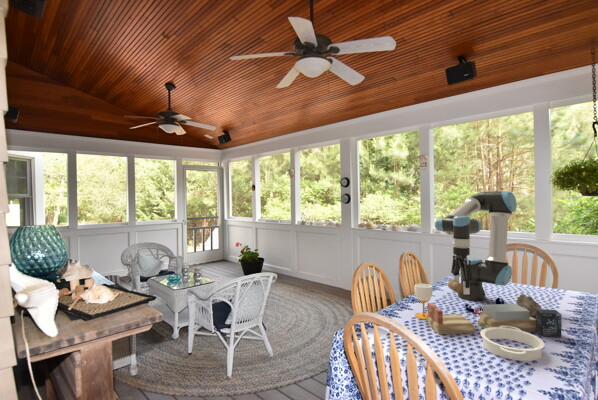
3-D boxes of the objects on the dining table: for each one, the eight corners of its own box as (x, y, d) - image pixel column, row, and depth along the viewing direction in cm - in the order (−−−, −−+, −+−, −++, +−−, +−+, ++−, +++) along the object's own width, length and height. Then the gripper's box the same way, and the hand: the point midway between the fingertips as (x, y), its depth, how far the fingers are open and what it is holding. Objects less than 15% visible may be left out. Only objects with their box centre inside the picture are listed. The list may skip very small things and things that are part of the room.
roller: (453, 291, 176) (445, 285, 176) (459, 283, 176) (451, 277, 176) (462, 296, 166) (454, 290, 166) (468, 288, 166) (461, 282, 166)
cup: (432, 314, 179) (432, 283, 179) (433, 320, 171) (433, 288, 170) (414, 312, 182) (414, 282, 182) (414, 318, 174) (414, 287, 173)
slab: (483, 312, 166) (483, 304, 166) (515, 311, 167) (515, 303, 166) (495, 320, 156) (495, 311, 156) (529, 319, 157) (529, 310, 156)
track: (427, 323, 166) (427, 302, 166) (519, 321, 168) (519, 300, 168) (438, 334, 154) (438, 311, 154) (537, 331, 156) (537, 308, 156)
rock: (530, 323, 171) (545, 310, 168) (509, 305, 177) (524, 292, 174) (530, 320, 179) (545, 307, 176) (510, 302, 184) (524, 290, 181)
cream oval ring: (550, 372, 121) (550, 359, 121) (479, 358, 132) (479, 346, 132) (540, 341, 146) (540, 330, 146) (481, 331, 157) (481, 321, 157)
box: (541, 336, 150) (541, 312, 150) (535, 331, 155) (535, 308, 155) (562, 338, 148) (562, 313, 148) (555, 332, 154) (555, 309, 153)
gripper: (444, 243, 182) (444, 285, 182) (464, 250, 159) (464, 297, 160) (458, 243, 182) (458, 285, 182) (480, 250, 159) (480, 297, 160)
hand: (461, 291), depth 171 cm, fingers closed on roller, 10 cm apart
